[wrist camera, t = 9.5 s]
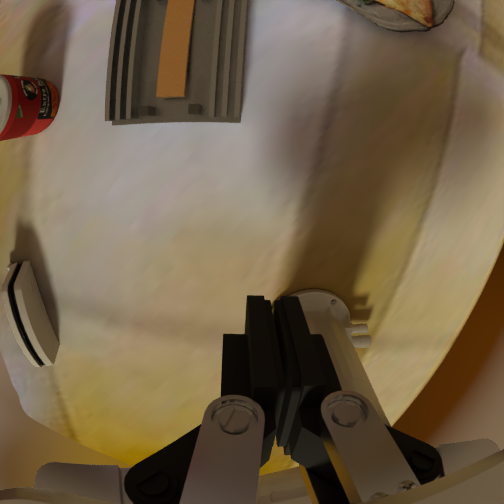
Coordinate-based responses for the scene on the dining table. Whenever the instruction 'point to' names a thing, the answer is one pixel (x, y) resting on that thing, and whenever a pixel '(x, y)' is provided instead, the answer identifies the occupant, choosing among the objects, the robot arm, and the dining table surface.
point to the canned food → (26, 106)
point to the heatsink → (198, 71)
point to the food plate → (403, 13)
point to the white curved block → (29, 315)
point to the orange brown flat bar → (175, 49)
